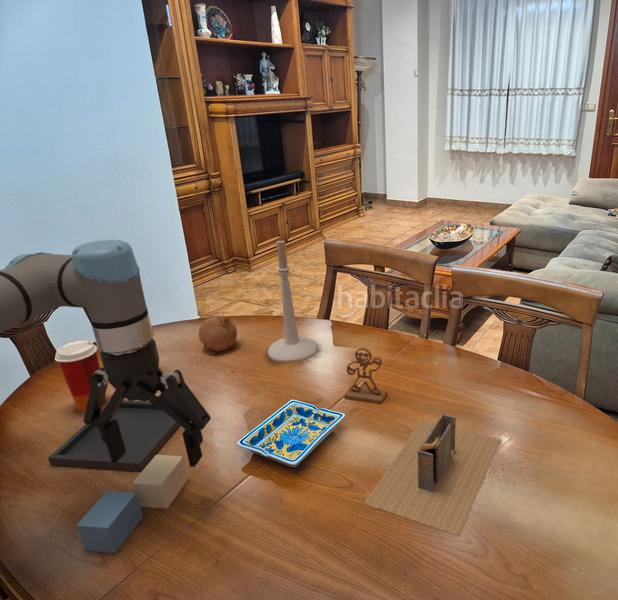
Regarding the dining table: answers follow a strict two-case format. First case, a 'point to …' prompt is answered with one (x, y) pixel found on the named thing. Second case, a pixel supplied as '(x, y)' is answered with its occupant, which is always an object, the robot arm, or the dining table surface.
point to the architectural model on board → (436, 475)
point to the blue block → (110, 521)
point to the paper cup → (78, 369)
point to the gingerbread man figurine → (365, 393)
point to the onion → (217, 333)
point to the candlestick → (289, 321)
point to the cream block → (161, 481)
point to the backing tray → (135, 433)
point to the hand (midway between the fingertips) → (157, 459)
